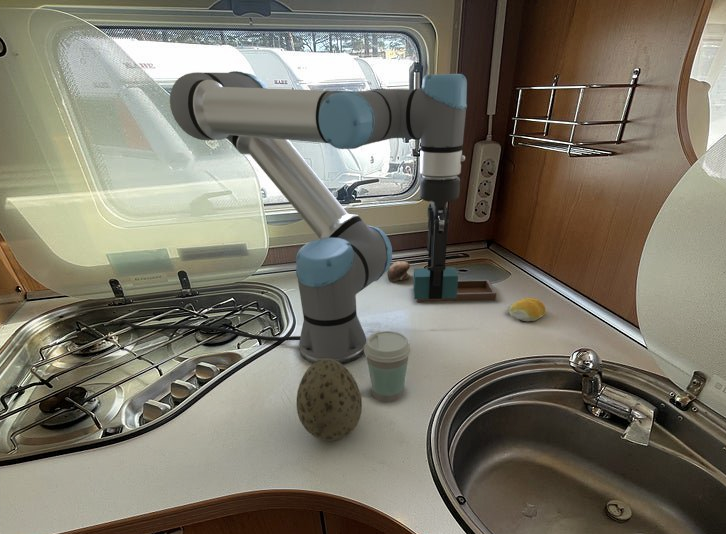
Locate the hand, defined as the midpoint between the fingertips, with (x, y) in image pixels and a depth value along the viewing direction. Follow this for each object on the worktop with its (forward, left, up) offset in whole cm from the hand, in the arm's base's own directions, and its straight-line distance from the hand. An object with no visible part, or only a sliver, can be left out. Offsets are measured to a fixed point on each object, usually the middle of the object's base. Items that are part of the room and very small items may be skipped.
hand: (434, 292), depth 92 cm
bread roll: (+26, +12, -12) cm, 31 cm away
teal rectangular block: (0, 0, 0) cm, 0 cm away
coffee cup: (-11, -20, -12) cm, 26 cm away
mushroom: (-6, +37, -12) cm, 39 cm away
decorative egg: (-21, -31, -12) cm, 40 cm away
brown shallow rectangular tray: (+9, +25, -12) cm, 29 cm away
